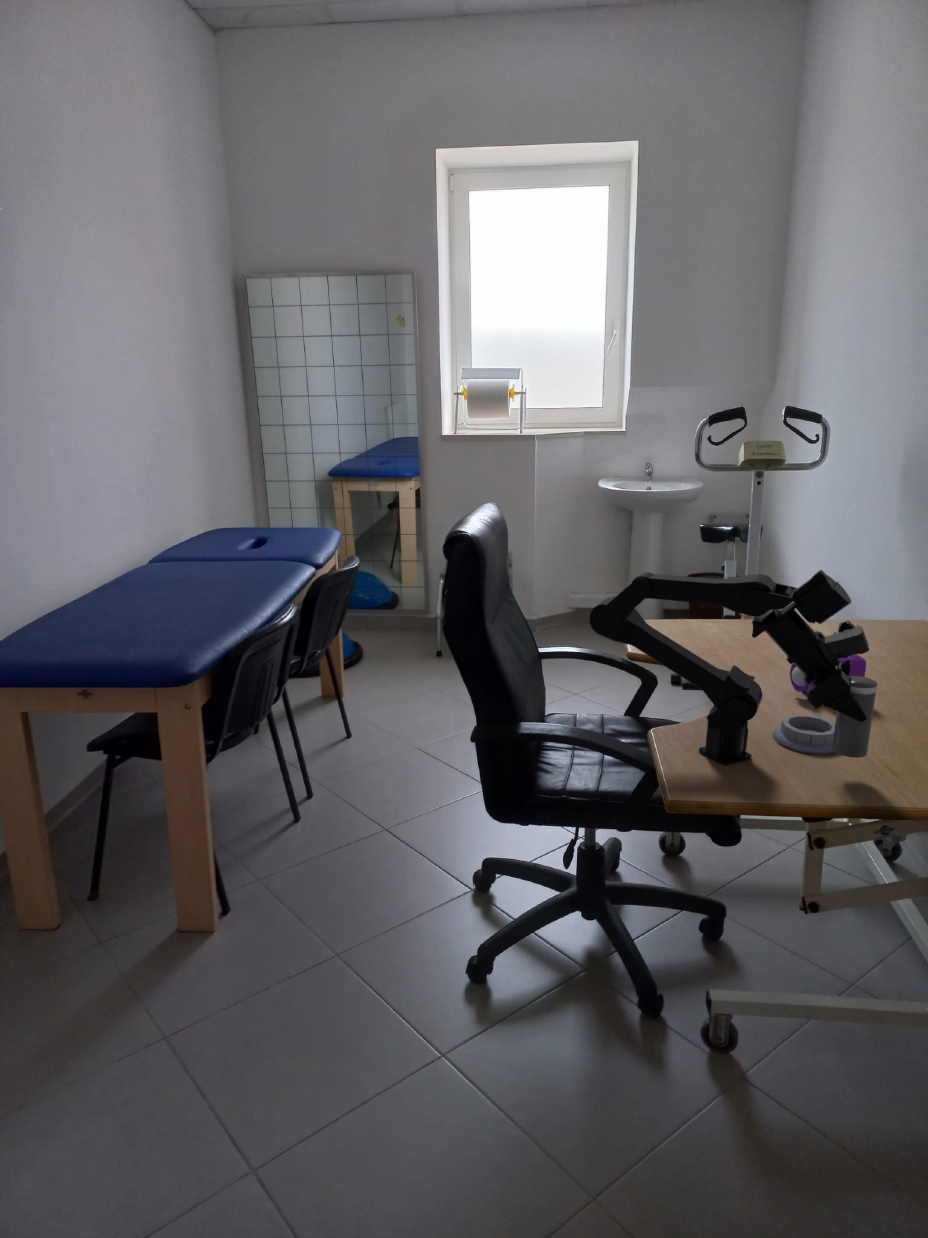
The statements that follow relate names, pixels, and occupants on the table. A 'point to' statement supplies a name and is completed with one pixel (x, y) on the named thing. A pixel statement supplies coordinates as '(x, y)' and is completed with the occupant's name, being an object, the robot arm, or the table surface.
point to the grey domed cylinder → (851, 732)
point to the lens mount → (806, 734)
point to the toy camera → (801, 685)
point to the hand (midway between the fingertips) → (864, 714)
